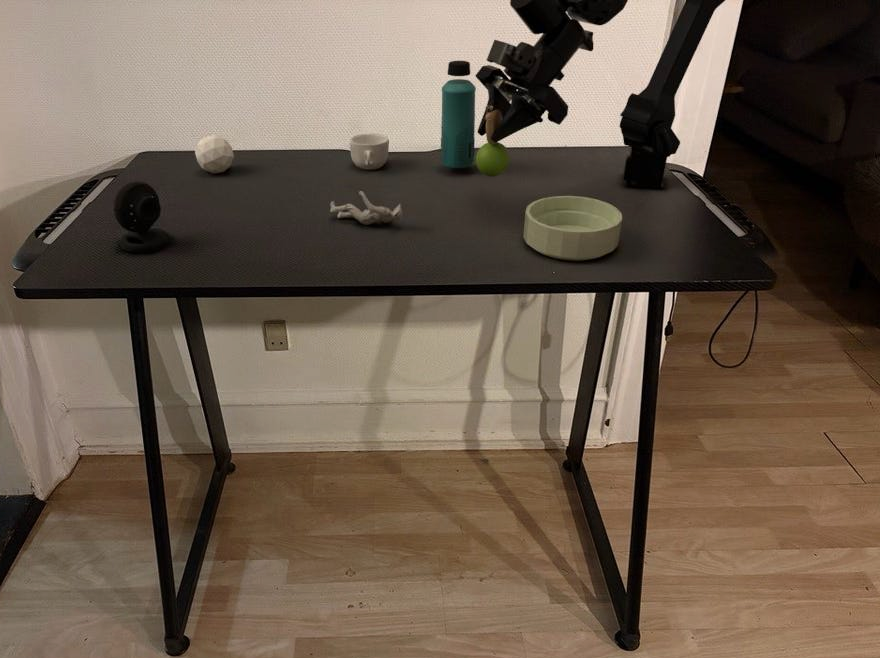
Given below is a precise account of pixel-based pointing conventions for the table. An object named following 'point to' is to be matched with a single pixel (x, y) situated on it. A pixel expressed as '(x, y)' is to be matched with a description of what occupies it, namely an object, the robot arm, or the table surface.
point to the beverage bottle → (458, 118)
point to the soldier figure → (368, 212)
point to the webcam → (139, 217)
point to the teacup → (369, 150)
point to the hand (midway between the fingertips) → (485, 137)
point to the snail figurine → (492, 148)
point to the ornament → (214, 154)
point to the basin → (572, 227)
